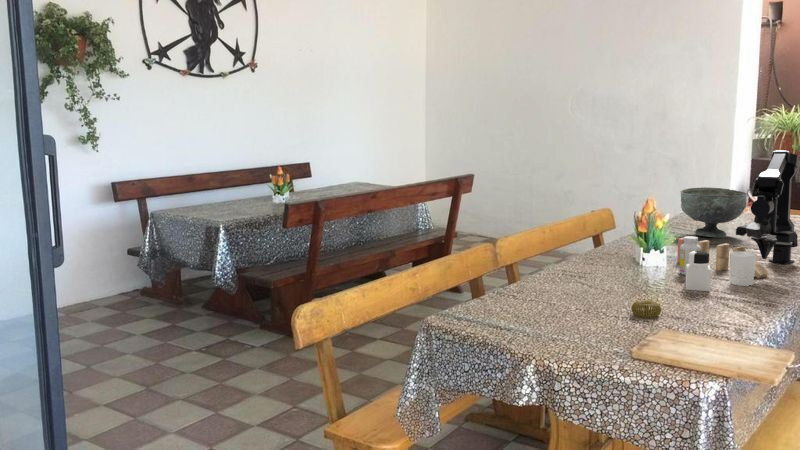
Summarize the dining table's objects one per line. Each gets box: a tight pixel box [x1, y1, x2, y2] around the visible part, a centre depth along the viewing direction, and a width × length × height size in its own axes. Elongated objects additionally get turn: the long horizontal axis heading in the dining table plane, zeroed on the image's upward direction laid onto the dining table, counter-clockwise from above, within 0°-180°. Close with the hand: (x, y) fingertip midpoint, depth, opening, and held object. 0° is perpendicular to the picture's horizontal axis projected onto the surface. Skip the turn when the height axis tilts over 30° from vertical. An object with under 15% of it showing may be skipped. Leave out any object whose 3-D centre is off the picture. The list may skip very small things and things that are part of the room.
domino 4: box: [732, 245, 747, 252], centre depth 256 cm, size 5×2×9 cm, turn 123°
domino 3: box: [715, 243, 730, 272], centre depth 262 cm, size 5×2×9 cm, turn 123°
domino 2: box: [697, 239, 710, 254], centre depth 269 cm, size 5×2×9 cm, turn 123°
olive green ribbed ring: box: [631, 299, 662, 319], centre depth 210 cm, size 8×4×8 cm
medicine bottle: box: [685, 251, 712, 292], centre depth 237 cm, size 7×7×12 cm
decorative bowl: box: [680, 186, 748, 239], centre depth 323 cm, size 26×26×20 cm
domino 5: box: [754, 260, 770, 279], centre depth 252 cm, size 5×2×9 cm
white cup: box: [729, 251, 758, 287], centre depth 242 cm, size 8×8×10 cm
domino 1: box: [676, 237, 684, 264], centre depth 275 cm, size 5×2×9 cm, turn 123°
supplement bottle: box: [679, 235, 701, 276], centre depth 257 cm, size 7×7×13 cm
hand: (764, 258), depth 249 cm, fingers closed
